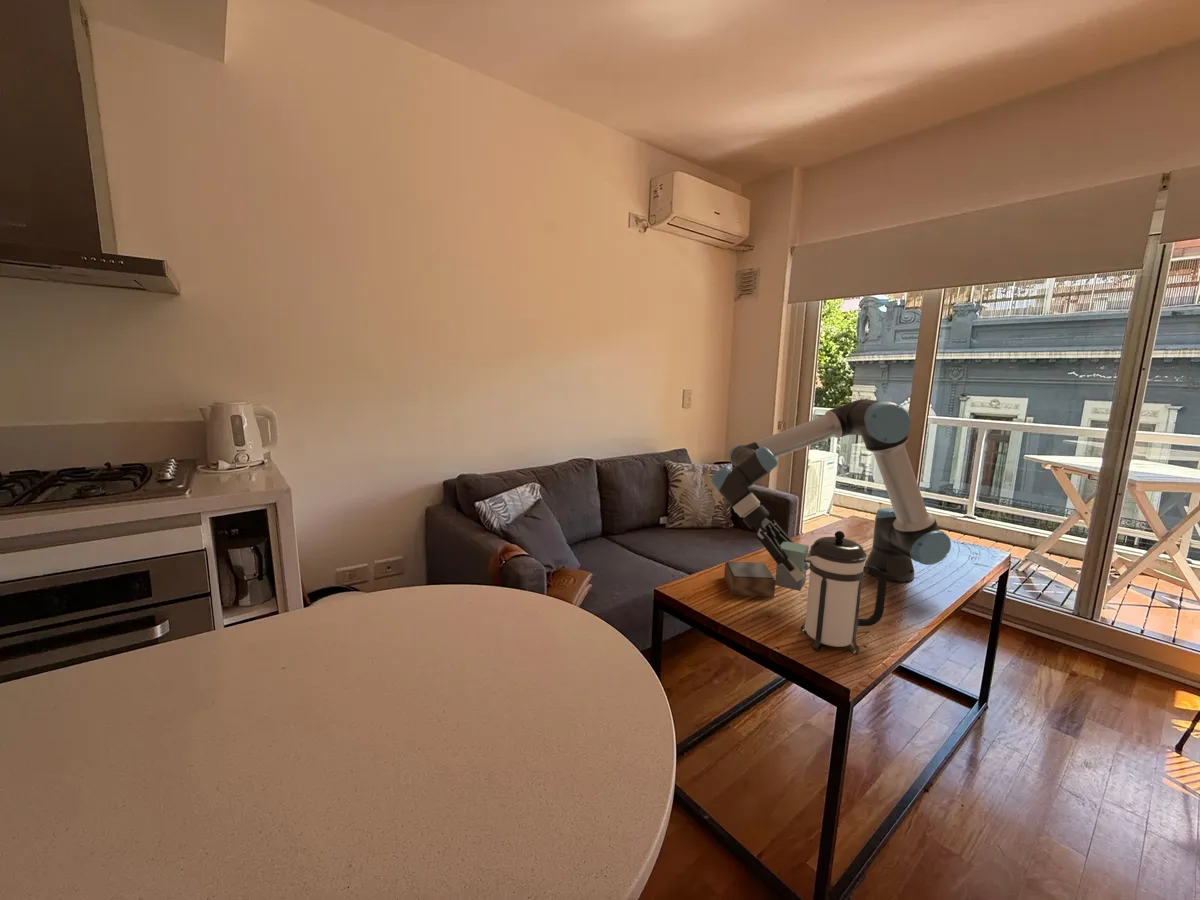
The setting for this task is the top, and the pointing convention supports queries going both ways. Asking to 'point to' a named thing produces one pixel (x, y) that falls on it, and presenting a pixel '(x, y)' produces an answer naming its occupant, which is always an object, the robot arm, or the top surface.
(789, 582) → the base
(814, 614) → the coffee press
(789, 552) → the lid
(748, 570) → the walnut stand
